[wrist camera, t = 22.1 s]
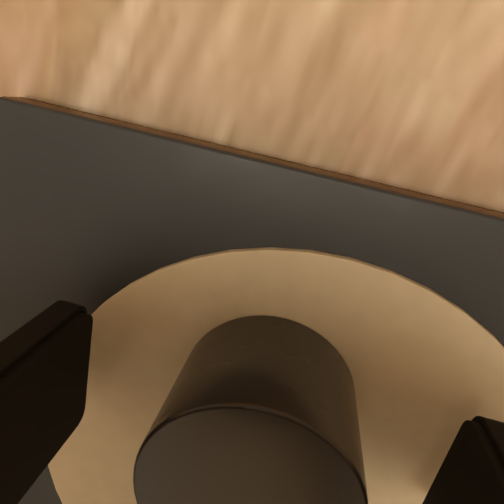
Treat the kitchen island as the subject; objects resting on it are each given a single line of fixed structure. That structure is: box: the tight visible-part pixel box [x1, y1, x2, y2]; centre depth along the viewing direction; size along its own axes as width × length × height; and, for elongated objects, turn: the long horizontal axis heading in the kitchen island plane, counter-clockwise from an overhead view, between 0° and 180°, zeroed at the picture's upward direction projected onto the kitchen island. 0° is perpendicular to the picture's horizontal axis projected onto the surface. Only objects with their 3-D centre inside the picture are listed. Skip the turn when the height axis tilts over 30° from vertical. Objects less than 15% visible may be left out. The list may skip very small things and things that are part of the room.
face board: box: [0, 97, 504, 504], centre depth 11 cm, size 16×16×1 cm
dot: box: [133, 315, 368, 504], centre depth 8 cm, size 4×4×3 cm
